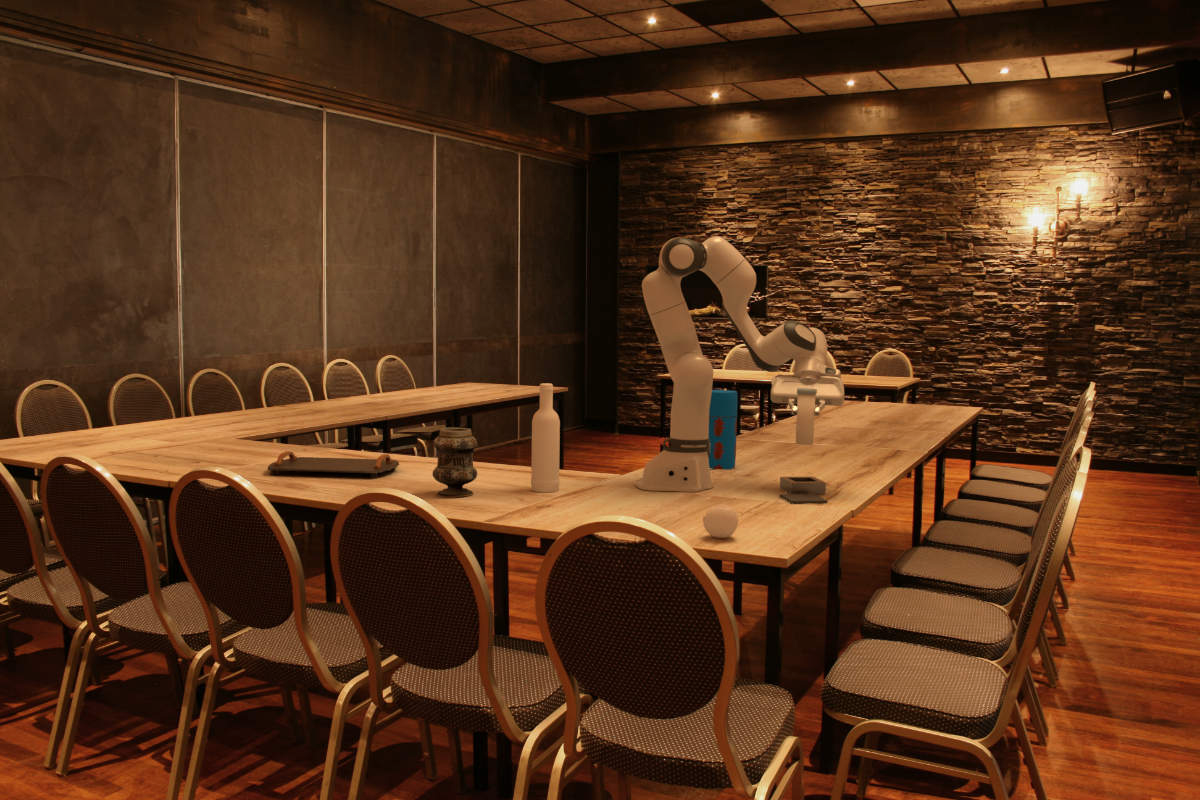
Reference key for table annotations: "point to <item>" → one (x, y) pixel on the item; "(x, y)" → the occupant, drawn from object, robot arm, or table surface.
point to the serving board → (333, 464)
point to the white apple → (721, 521)
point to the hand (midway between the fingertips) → (805, 413)
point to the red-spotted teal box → (722, 429)
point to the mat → (803, 498)
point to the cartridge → (805, 416)
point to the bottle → (545, 444)
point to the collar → (803, 485)
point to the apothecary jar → (455, 461)
